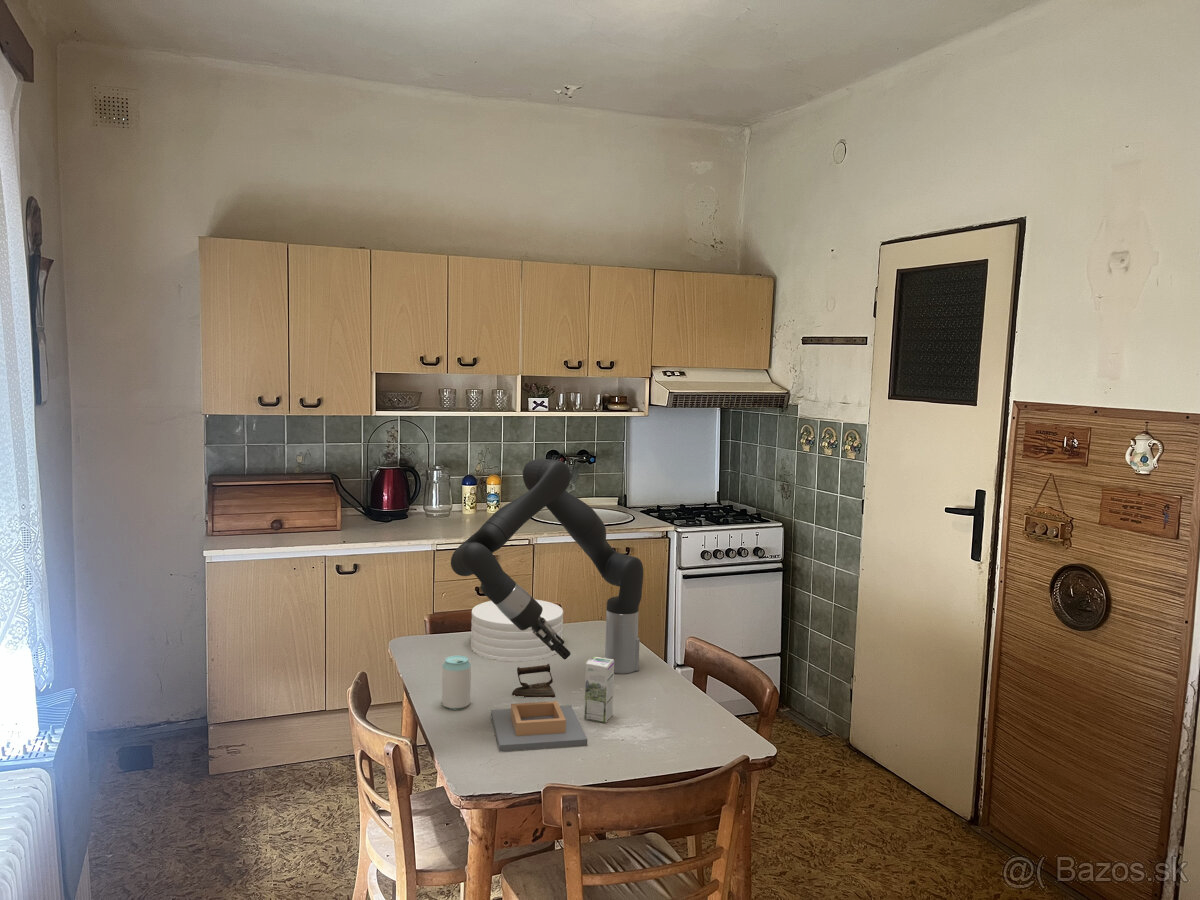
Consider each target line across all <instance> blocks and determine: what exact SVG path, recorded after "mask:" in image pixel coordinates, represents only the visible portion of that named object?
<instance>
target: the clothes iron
mask: <svg viewBox="0 0 1200 900" xmlns="http://www.w3.org/2000/svg"><path fill="white" fill-rule="evenodd" d="M516 671H517V673H516V674H517V677H518V681H519V684H520V685H521V686H519V687H516V688H514V689H513V690H512V691H511V696H514V695H515V697H518V696H524V697H523V698H526V697H552V698H556V694H555V693H556V692H554V689H553V688H552V683H554V680H553V676H552V673H551V665H550V663H547V664H543V665H537V666H536V665H535V666H527V667H520V666H518V667H517V669H516ZM537 673H549V676H550V679H549V680H548V681H547V682H546V681H544V682H537V683H531V684H528V683H526V682H522V681H521V678H520V676H521V675H529V674H537Z"/></svg>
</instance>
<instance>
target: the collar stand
mask: <svg viewBox="0 0 1200 900" xmlns="http://www.w3.org/2000/svg"><path fill="white" fill-rule="evenodd" d="M491 717H492V718H491ZM490 718H491V722H492V726H493V731H494V730H495V731H494V734H496V735H495V738H496V739H495V740H496V742H497V746H498V747H497V748H498V750H499V751H504V752H516V751H515V750H518V751H529V750H531V749H532V750H541V749H543V750H544V748H546V749H556V748H557V747H559V748H560V749H561V748H571V747H573V748H574V747H585V746H588V738H587V736H586V733H585V731H584V729H583V728H582V727H583V726H582V724H581V723H580V721H579V719H578V717H577V715H576V713H575V710H574V708H573V707H572V705H571V704H570V705H569V704H568V705H560V704H559V702H558V700H555V701H537V702H536V701H535V702H521V703H510V708H502V709H500V708H499V709H491V710H490ZM559 748H557V749H559Z"/></svg>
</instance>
